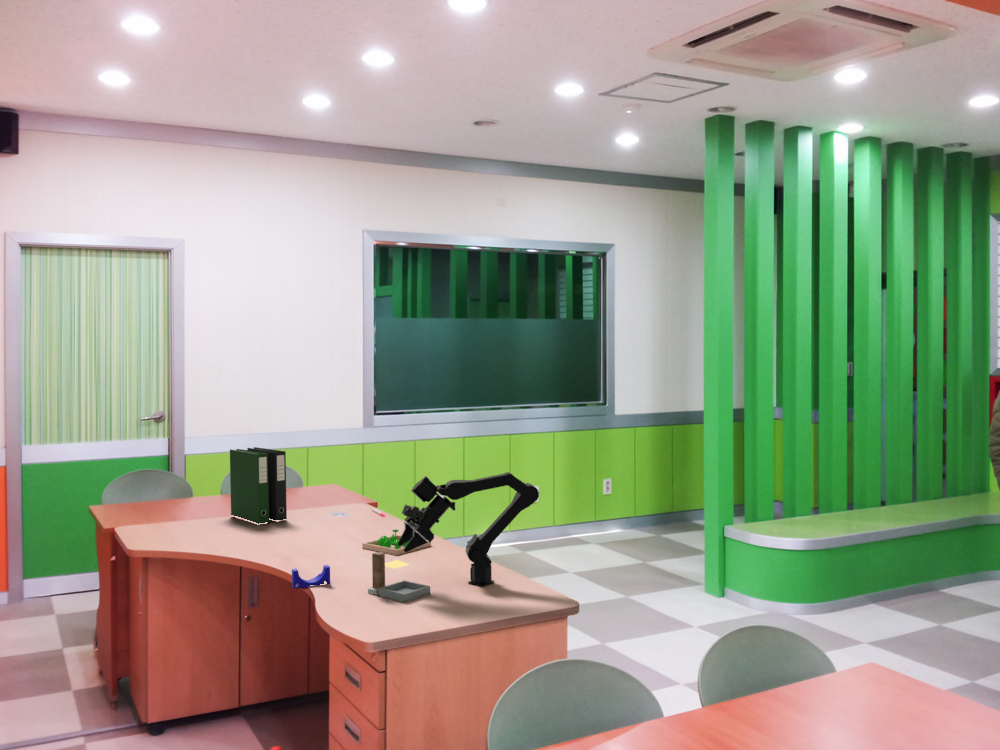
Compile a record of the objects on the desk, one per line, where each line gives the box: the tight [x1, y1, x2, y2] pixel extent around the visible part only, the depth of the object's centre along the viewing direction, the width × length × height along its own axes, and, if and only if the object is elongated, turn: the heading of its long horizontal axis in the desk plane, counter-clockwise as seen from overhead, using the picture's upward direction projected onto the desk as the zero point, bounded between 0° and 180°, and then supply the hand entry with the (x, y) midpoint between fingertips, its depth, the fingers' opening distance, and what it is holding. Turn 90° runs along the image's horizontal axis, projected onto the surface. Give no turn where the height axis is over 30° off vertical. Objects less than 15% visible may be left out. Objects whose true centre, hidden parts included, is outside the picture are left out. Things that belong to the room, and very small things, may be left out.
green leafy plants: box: [377, 529, 410, 549], centre depth 336 cm, size 15×15×7 cm
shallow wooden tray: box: [361, 534, 432, 556], centre depth 335 cm, size 19×19×2 cm
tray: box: [377, 579, 431, 603], centre depth 270 cm, size 12×12×2 cm
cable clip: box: [291, 564, 331, 590], centre depth 282 cm, size 12×4×6 cm, turn 114°
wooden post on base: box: [367, 551, 387, 596], centre depth 273 cm, size 6×4×12 cm, turn 141°
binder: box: [229, 446, 288, 524], centre depth 394 cm, size 27×15×32 cm, turn 45°
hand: (401, 548), depth 276 cm, fingers open, 9 cm apart
